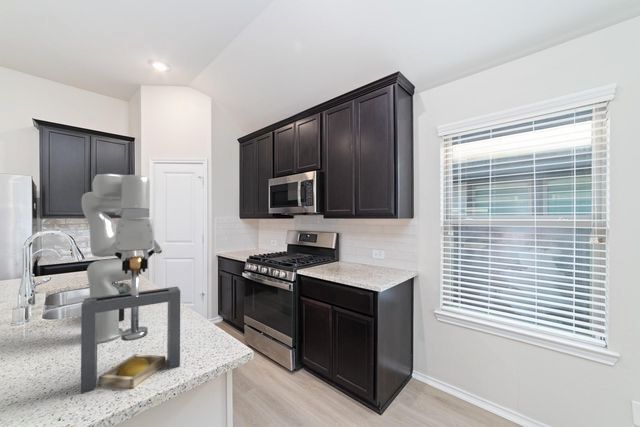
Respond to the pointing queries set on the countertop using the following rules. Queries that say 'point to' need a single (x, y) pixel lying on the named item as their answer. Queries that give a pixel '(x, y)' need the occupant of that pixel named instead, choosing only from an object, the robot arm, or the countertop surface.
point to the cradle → (131, 382)
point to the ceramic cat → (122, 290)
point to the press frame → (121, 302)
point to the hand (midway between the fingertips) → (135, 271)
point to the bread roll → (133, 367)
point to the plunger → (134, 332)
